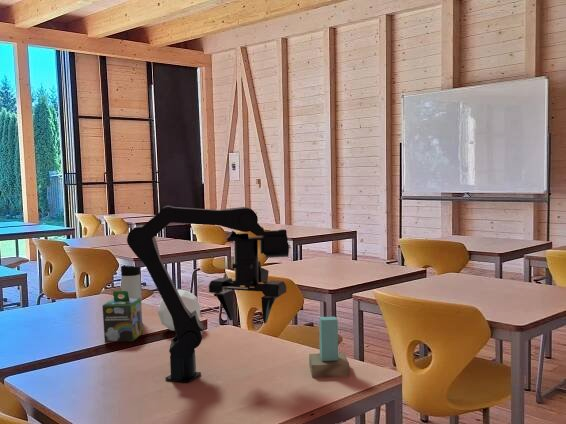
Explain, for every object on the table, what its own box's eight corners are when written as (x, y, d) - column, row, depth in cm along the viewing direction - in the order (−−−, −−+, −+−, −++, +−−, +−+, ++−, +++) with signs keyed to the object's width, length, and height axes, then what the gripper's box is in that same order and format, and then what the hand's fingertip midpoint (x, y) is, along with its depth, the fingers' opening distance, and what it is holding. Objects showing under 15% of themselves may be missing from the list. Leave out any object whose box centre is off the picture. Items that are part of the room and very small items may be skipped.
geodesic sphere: (169, 322, 175) (188, 281, 181) (139, 316, 184) (158, 277, 190) (197, 341, 185) (215, 302, 191) (168, 335, 193) (185, 298, 199)
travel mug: (118, 325, 196) (115, 265, 195) (132, 320, 202) (129, 262, 201) (132, 327, 193) (130, 266, 192) (146, 322, 199) (143, 263, 198)
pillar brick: (322, 360, 144) (321, 320, 144) (319, 356, 148) (319, 317, 148) (338, 360, 144) (337, 319, 144) (335, 356, 148) (334, 316, 148)
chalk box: (143, 333, 185) (141, 287, 184) (133, 342, 176) (131, 293, 175) (114, 333, 186) (112, 287, 185) (103, 342, 177) (101, 293, 176)
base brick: (312, 379, 142) (311, 365, 141) (309, 367, 151) (309, 353, 150) (349, 378, 142) (349, 364, 142) (344, 366, 151) (344, 352, 151)
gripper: (293, 255, 148) (295, 316, 149) (227, 253, 155) (229, 311, 156) (276, 261, 137) (278, 327, 138) (206, 259, 144) (208, 321, 146)
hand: (248, 321), depth 145 cm, fingers open, 9 cm apart
